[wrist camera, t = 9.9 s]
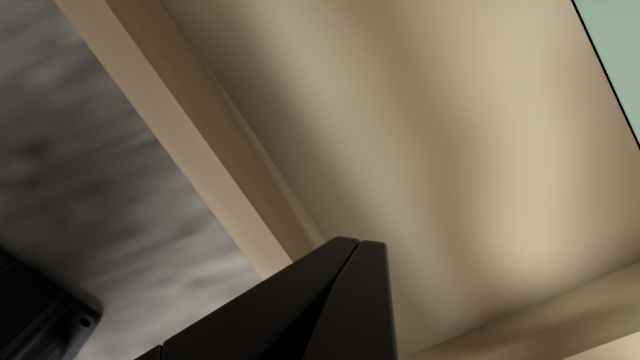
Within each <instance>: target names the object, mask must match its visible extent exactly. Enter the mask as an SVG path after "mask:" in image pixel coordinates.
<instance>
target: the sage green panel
mask: <svg viewBox="0 0 640 360" xmlns="http://www.w3.org/2000/svg"><path fill="white" fill-rule="evenodd" d="M574 2H575V4H576V6H577V8H578V11H579V13H580V15H581V17H582V19H583V21H584V24H585V26H586V28H587V30H588V32H589V35H590V37H591V39H592V41H593V43H594V46H595V48H596V50H597V52H598V54H599V56H600V59H601V61H602V63H603V65H604V67H605V70H606V72H607V74H608V76H609V78H610V81H611V83H612V85H613V87H614V89H615V91H616V94H617V96H618V98H619V100H620V102H621V105H622V107H623V109H624V111H625V113H626V115H627V118H628V120H629V122H630V124H631V126H632V129H633V131H634V133H635V135H636V137H637V140H638V142H639V144H640V0H574Z"/></svg>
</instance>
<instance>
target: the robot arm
mask: <svg viewBox="0 0 640 360" xmlns="http://www.w3.org/2000/svg"><path fill="white" fill-rule="evenodd" d="M87 319H88V320H89V321H88V320H87ZM99 322H100V317H99V315H98V313H97V312H96V311H94V310H93V309H91V308H90V307H88V306H87V305H85V304H84V303H82V302H81V301H79V300H78V299H76V298H75V297H73V296H72V295H70V294H69V293H67V292H66V291H64V290H63V289H61V288H60V287H58V286H57V285H55V284H54V283H52V282H51V281H49V280H48V279H46V278H45V277H43V276H42V275H40V274H39V273H37V272H36V271H34V270H33V269H31V268H30V267H28V266H27V265H25V264H24V263H22V262H21V261H19V260H17V259H16V258H14V257H13V256H11V255H10V254H8V253H7V252H5V251H4V250H2V249H1V248H0V360H73V359H74V357H75V356H76V355H77V353H78V352H79V350H80V349H81V348H82V346H83V345H84V343H85V342H86V341H87V339H88V338H89V336H90V335H91V334H92V332H93V331H94V329H95V328H96V327H97V325H98V324H99ZM134 360H399V359H398V349H397V339H396V329H395V319H394V309H393V298H392V288H391V278H390V268H389V258H388V248H387V244H386V243H384V242H379V241H372V240H363V241H360V240H359V239H357V238H351V237H344V236H336V237H334V238H332V239H331V240H329V241H327V242H326V243H324V244H322V245H321V246H319V247H318V248H316V249H314V250H313V251H311V252H309V253H308V254H306V255H305V256H303V257H301V258H300V259H298V260H296V261H295V262H293V263H291V264H290V265H288V266H287V267H285V268H283V269H282V270H280V271H278V272H277V273H275V274H273V275H272V276H270V277H269V278H267V279H265V280H264V281H262V282H260V283H259V284H257V285H256V286H254V287H252V288H251V289H249V290H247V291H246V292H244V293H242V294H241V295H239V296H238V297H236V298H234V299H233V300H231V301H229V302H228V303H226V304H224V305H223V306H221V307H220V308H218V309H216V310H215V311H213V312H211V313H210V314H208V315H207V316H205V317H203V318H202V319H200V320H198V321H197V322H195V323H193V324H192V325H190V326H189V327H187V328H185V329H184V330H182V331H180V332H179V333H177V334H175V335H174V336H172V337H171V338H169V339H167V340H166V341H164V343H163V346H162V345H157V346H156V347H154V348H152V349H151V350H149V351H147V352H146V353H144V354H142V355H141V356H139V357H138V358H136V359H134Z"/></svg>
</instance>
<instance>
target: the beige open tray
mask: <svg viewBox="0 0 640 360" xmlns="http://www.w3.org/2000/svg"><path fill="white" fill-rule="evenodd" d="M54 1H55V2H56V4H57V5H58V6H59V8H60V9H61V10H62V12H63V13H64V14H65V16H66V17H67V18H68V20H69V21H70V22H71V24H72V25H73V26H74V28H75V29H76V30H77V32H78V33H79V34H80V36H81V37H82V38H83V40H84V41H85V42H86V44H87V45H88V46H89V48H90V49H91V50H92V52H93V53H94V54H95V56H96V57H97V58H98V60H99V61H100V62H101V64H102V65H103V66H104V68H105V69H106V70H107V72H108V73H109V75H110V76H111V77H112V79H113V80H114V81H115V83H116V84H117V85H118V87H119V88H120V89H121V91H122V92H123V93H124V95H125V96H126V97H127V99H128V100H129V101H130V103H131V104H132V105H133V107H134V108H135V109H136V111H137V112H138V113H139V115H140V116H141V117H142V119H143V120H144V121H145V123H146V124H147V125H148V127H149V128H150V129H151V131H152V132H153V133H154V135H155V136H156V137H157V139H158V140H159V141H160V143H161V144H162V145H163V147H164V148H165V149H166V151H167V152H168V153H169V155H170V156H171V157H172V159H173V160H174V161H175V163H176V164H177V165H178V167H179V168H180V169H181V171H182V172H183V173H184V175H185V176H186V177H187V179H188V180H189V181H190V183H191V184H192V185H193V187H194V188H195V189H196V191H197V192H198V193H199V195H200V196H201V197H202V199H203V200H204V201H205V203H206V204H207V205H208V207H209V208H210V209H211V211H212V212H213V214H214V215H215V216H216V218H217V219H218V220H219V222H220V223H221V224H222V226H223V227H224V228H225V230H226V231H227V232H228V234H229V235H230V236H231V238H232V239H233V240H234V242H235V243H236V244H237V246H238V247H239V248H240V250H241V251H242V252H243V254H244V255H245V256H246V258H247V259H248V260H249V262H250V263H251V264H252V266H253V267H254V268H255V270H256V271H257V272H258V274H259V275H260V276H261V278H262V279H263V280H265V279H267V278H269V277H270V276H272V275H273V274H275V273H277V272H278V271H280V270H282V269H283V268H285V267H287V266H288V265H290V264H291V263H293V262H295V261H296V260H298V259H300V258H301V257H303V256H305V255H306V254H308V253H309V252H311V251H313V250H314V249H316V248H318V247H319V246H321V245H322V244H324V243H326V242H327V241H329V240H331V239H332V238H334V237H336V236H344V237H351V238H357V239H359V240H360V241H363V240H372V241H379V242H384V243H386V244H387V248H388V258H389V268H390V278H391V288H392V298H393V309H394V319H395V329H396V339H397V349H398V359H399V360H640V150H639V148H638V146H637V144H636V141H635V139H634V137H633V135H632V133H631V130H630V128H629V126H628V124H627V122H626V120H625V117H624V115H623V113H622V111H621V109H620V107H619V104H618V102H617V100H616V98H615V96H614V93H613V91H612V89H611V87H610V85H609V83H608V80H607V78H606V76H605V74H604V72H603V70H602V67H601V65H600V63H599V61H598V59H597V56H596V54H595V52H594V50H593V48H592V46H591V43H590V41H589V39H588V37H587V35H586V32H585V30H584V28H583V26H582V24H581V22H580V19H579V17H578V15H577V13H576V11H575V9H574V6H573V4H572V2H571V0H54Z"/></svg>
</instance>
